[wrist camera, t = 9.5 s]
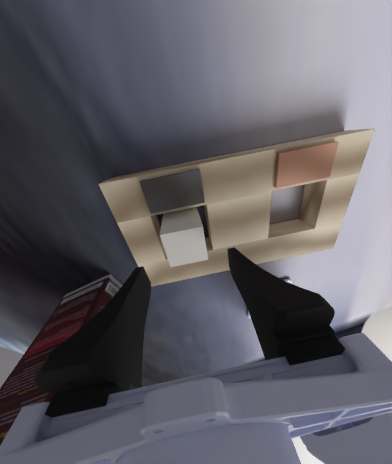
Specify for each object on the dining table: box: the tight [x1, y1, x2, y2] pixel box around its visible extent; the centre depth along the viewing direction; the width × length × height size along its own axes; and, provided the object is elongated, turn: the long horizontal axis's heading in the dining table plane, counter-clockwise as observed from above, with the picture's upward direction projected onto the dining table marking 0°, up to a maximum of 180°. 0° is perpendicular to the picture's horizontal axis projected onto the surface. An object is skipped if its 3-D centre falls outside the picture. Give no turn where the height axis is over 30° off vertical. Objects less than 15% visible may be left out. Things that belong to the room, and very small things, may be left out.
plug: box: [160, 207, 208, 267], centre depth 18 cm, size 4×4×6 cm
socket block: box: [98, 129, 375, 286], centre depth 19 cm, size 14×26×3 cm, turn 100°
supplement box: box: [0, 274, 123, 445], centre depth 18 cm, size 9×5×16 cm, turn 115°
